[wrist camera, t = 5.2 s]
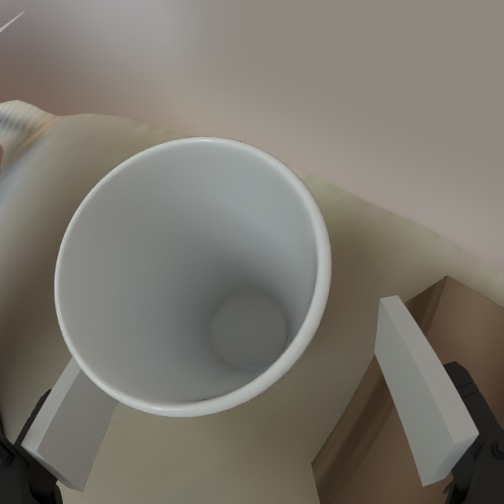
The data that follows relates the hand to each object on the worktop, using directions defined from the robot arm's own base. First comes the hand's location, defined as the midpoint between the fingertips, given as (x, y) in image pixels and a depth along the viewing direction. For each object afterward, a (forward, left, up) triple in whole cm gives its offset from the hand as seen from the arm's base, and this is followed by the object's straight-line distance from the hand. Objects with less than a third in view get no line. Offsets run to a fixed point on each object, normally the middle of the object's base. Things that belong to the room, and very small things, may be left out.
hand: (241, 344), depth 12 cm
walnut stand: (+13, +1, -9) cm, 15 cm away
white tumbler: (-1, +1, -9) cm, 9 cm away
